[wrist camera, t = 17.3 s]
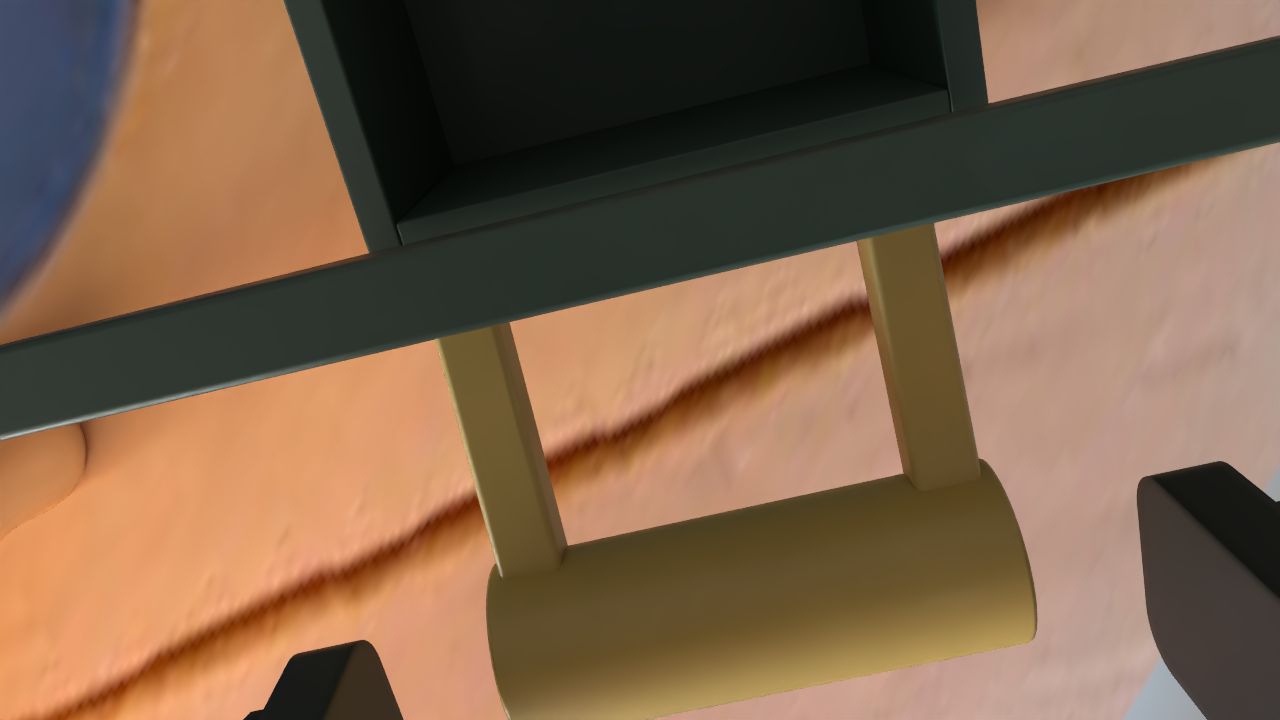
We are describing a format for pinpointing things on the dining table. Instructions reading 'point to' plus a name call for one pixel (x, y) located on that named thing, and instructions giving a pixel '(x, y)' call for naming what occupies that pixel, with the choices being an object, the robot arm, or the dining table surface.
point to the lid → (666, 254)
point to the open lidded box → (607, 93)
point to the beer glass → (38, 473)
